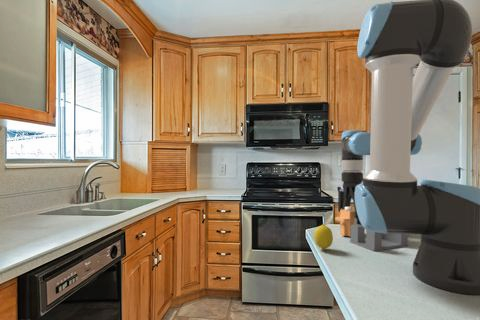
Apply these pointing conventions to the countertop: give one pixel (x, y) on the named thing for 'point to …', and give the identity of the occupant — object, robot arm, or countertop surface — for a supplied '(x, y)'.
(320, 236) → the lemon
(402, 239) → the grey stand
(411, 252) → the countertop surface
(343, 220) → the block
